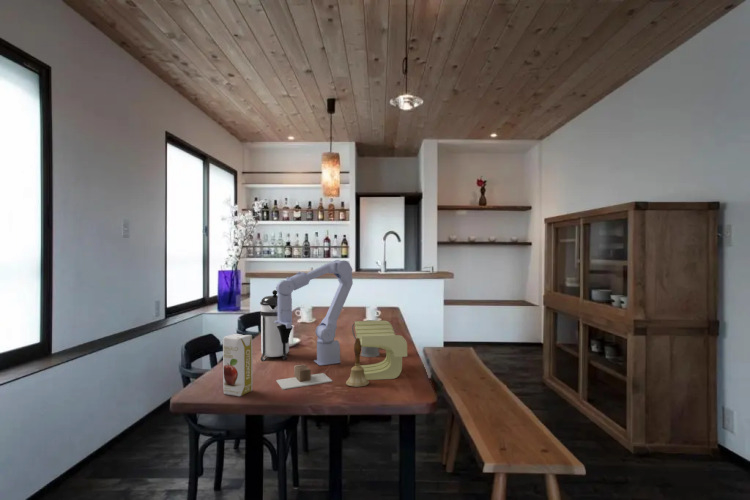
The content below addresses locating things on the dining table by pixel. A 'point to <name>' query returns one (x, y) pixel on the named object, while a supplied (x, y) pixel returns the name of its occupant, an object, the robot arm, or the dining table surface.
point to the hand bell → (357, 369)
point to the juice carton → (237, 364)
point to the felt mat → (295, 383)
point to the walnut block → (302, 373)
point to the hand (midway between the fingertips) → (284, 343)
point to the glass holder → (368, 348)
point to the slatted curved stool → (384, 338)
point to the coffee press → (271, 329)
